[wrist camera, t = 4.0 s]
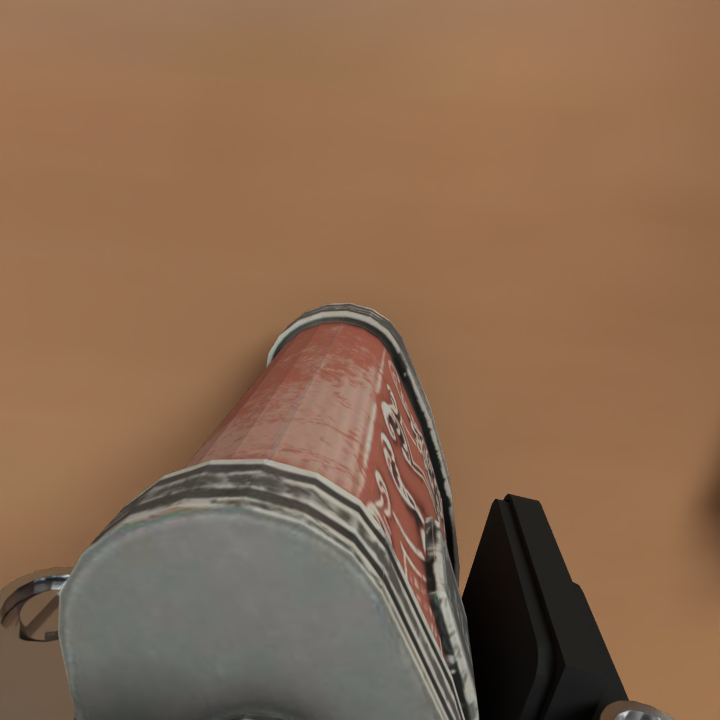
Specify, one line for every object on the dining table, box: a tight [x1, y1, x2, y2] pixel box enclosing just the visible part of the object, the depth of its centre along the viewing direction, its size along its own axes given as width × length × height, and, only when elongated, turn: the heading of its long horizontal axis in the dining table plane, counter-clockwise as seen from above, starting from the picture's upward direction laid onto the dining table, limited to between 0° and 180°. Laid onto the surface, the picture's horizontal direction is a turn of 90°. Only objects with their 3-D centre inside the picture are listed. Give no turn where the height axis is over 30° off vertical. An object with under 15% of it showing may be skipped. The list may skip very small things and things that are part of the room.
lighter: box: [58, 303, 479, 720], centre depth 7 cm, size 8×3×10 cm, turn 12°
